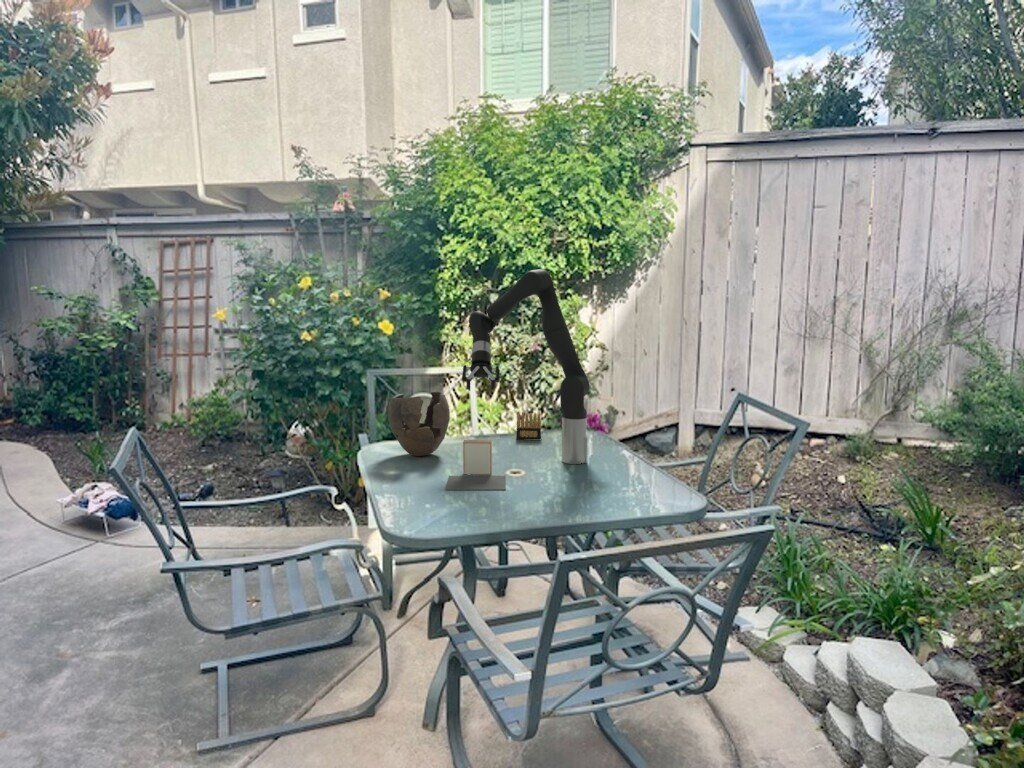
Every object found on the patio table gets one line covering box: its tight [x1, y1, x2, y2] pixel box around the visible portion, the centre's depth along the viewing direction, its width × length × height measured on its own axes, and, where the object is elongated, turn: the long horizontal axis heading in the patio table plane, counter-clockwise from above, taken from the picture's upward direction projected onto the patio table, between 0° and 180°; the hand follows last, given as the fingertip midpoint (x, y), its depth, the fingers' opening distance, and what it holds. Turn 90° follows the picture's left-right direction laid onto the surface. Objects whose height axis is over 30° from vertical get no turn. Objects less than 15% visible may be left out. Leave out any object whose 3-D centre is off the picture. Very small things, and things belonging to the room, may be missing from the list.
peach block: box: [462, 438, 493, 476], centre depth 253 cm, size 10×4×12 cm, turn 91°
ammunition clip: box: [515, 411, 542, 441], centre depth 304 cm, size 11×2×12 cm, turn 87°
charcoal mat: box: [444, 475, 507, 491], centre depth 242 cm, size 20×16×1 cm
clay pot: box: [387, 391, 451, 457], centre depth 277 cm, size 24×24×25 cm
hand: (480, 389), depth 267 cm, fingers open, 8 cm apart
